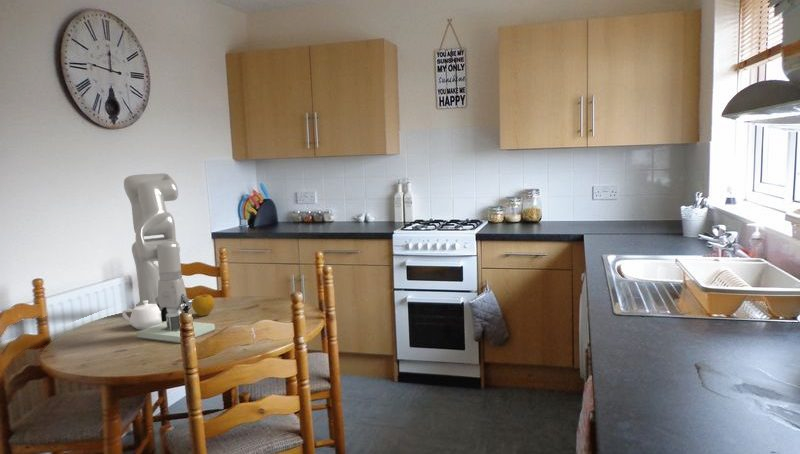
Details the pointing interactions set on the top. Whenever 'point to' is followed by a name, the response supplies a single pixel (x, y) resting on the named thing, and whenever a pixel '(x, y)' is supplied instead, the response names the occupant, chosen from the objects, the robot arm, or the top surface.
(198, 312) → the apple
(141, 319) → the teapot
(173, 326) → the pill bottle
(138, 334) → the pocket board
